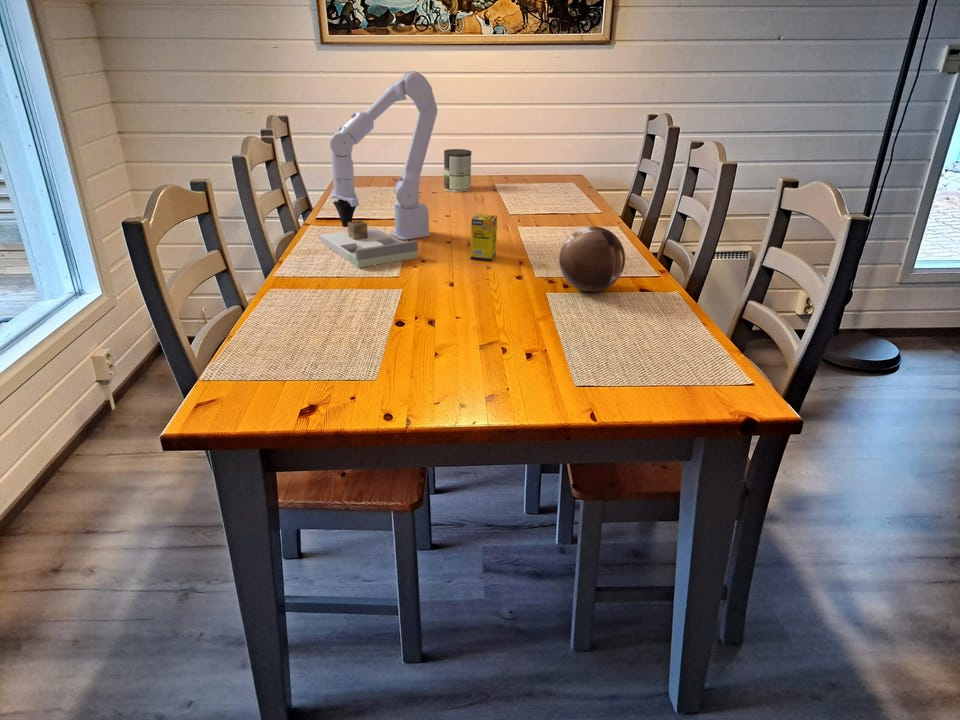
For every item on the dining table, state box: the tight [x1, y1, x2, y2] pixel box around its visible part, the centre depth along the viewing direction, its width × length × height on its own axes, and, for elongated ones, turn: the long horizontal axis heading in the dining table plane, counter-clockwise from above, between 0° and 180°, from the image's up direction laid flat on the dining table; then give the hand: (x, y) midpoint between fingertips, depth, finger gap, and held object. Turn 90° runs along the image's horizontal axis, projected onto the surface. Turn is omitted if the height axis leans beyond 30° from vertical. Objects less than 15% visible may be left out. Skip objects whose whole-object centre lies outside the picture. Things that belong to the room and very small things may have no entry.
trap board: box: [319, 227, 419, 269], centre depth 178 cm, size 17×26×4 cm, turn 33°
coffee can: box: [443, 148, 472, 193], centre depth 247 cm, size 10×10×14 cm
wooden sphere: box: [558, 226, 626, 292], centre depth 152 cm, size 15×15×15 cm
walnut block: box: [347, 220, 368, 240], centre depth 182 cm, size 4×4×4 cm
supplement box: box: [470, 213, 498, 262], centre depth 173 cm, size 6×6×11 cm
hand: (346, 226), depth 188 cm, fingers closed
